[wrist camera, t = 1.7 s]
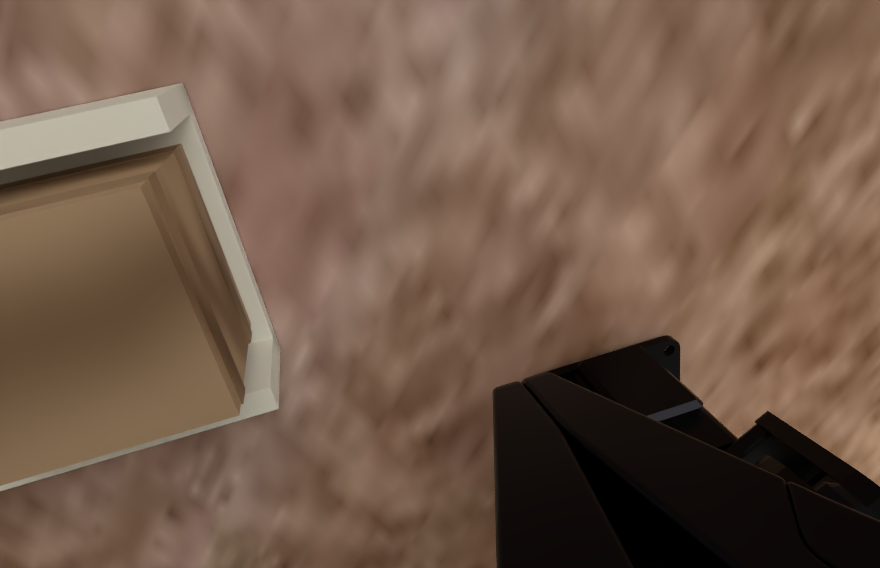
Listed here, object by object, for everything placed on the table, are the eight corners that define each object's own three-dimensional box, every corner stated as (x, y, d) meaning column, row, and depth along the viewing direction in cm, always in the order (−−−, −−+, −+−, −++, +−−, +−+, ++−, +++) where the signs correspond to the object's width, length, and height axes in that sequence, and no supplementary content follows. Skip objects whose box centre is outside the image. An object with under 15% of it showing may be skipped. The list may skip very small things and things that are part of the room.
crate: (252, 324, 19) (242, 416, 14) (59, 377, 18) (-16, 492, 13) (182, 141, 16) (141, 184, 12) (-50, 193, 15) (-189, 262, 11)
